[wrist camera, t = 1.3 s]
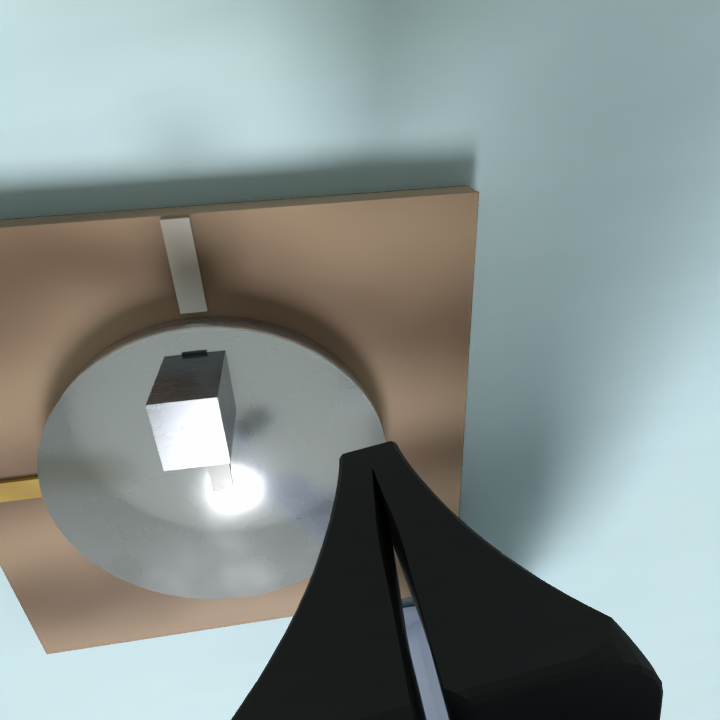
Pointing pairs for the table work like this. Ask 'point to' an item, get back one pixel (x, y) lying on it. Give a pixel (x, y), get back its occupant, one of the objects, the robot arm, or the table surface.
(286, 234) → the plate
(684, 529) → the table surface
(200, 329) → the dial
